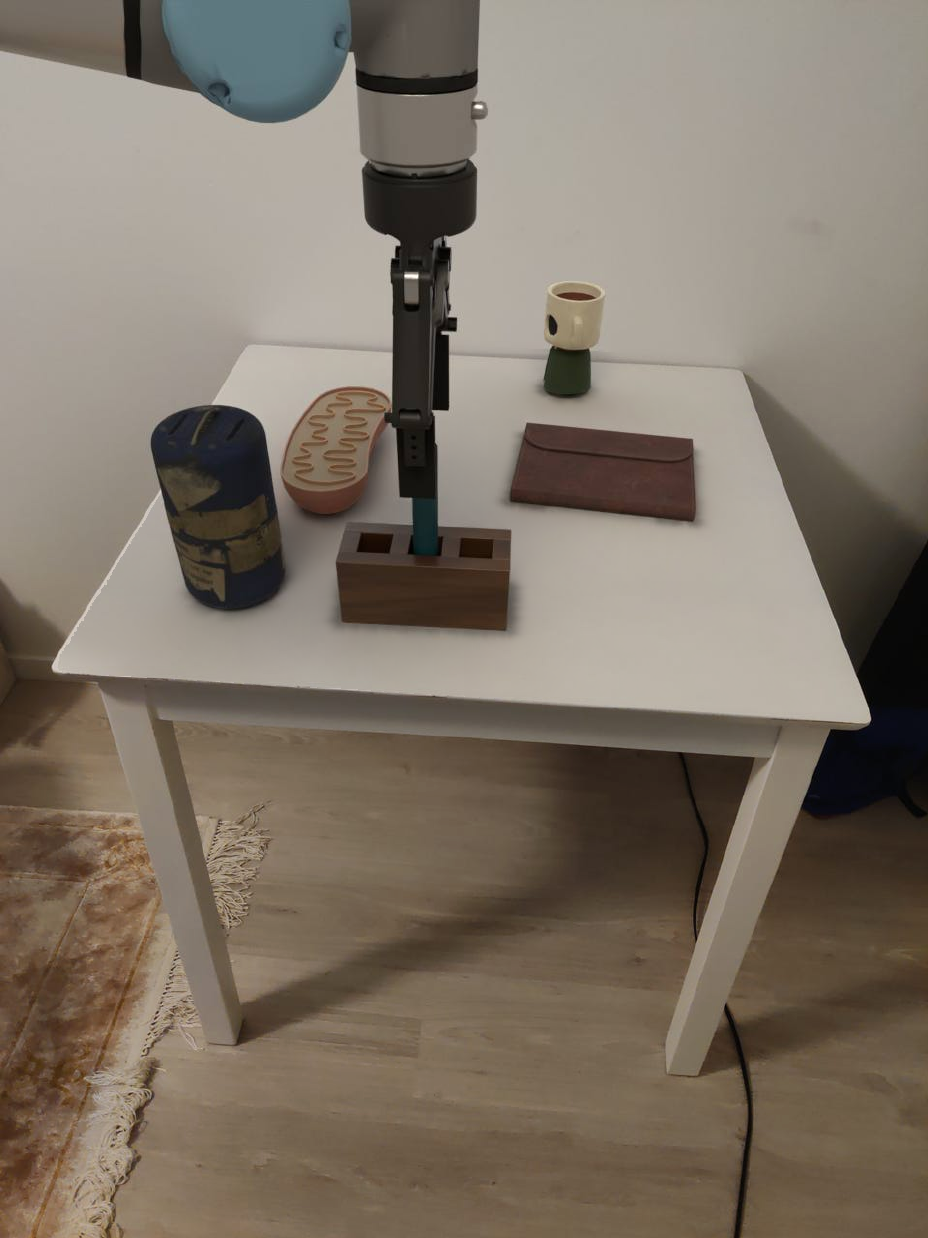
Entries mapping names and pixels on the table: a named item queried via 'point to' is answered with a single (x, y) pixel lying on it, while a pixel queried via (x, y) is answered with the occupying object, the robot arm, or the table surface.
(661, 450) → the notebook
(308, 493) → the anatomical model
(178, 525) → the canister
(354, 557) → the pen holder
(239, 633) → the table surface
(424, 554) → the pen
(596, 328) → the character mug
